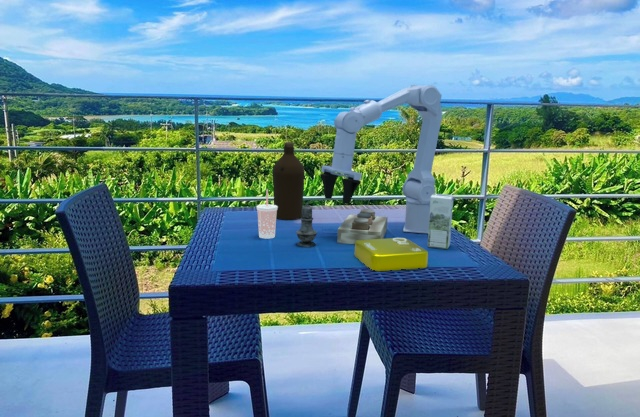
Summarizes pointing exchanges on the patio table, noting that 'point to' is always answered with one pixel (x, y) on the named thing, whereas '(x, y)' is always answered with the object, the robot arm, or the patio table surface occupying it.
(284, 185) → the olive oil
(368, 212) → the box with round disc
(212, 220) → the patio table surface
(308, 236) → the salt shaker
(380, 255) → the element tile
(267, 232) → the beverage cup
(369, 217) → the beige grey-dot cube
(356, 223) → the cube with pale circle
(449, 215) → the syrup box
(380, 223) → the grey square block
